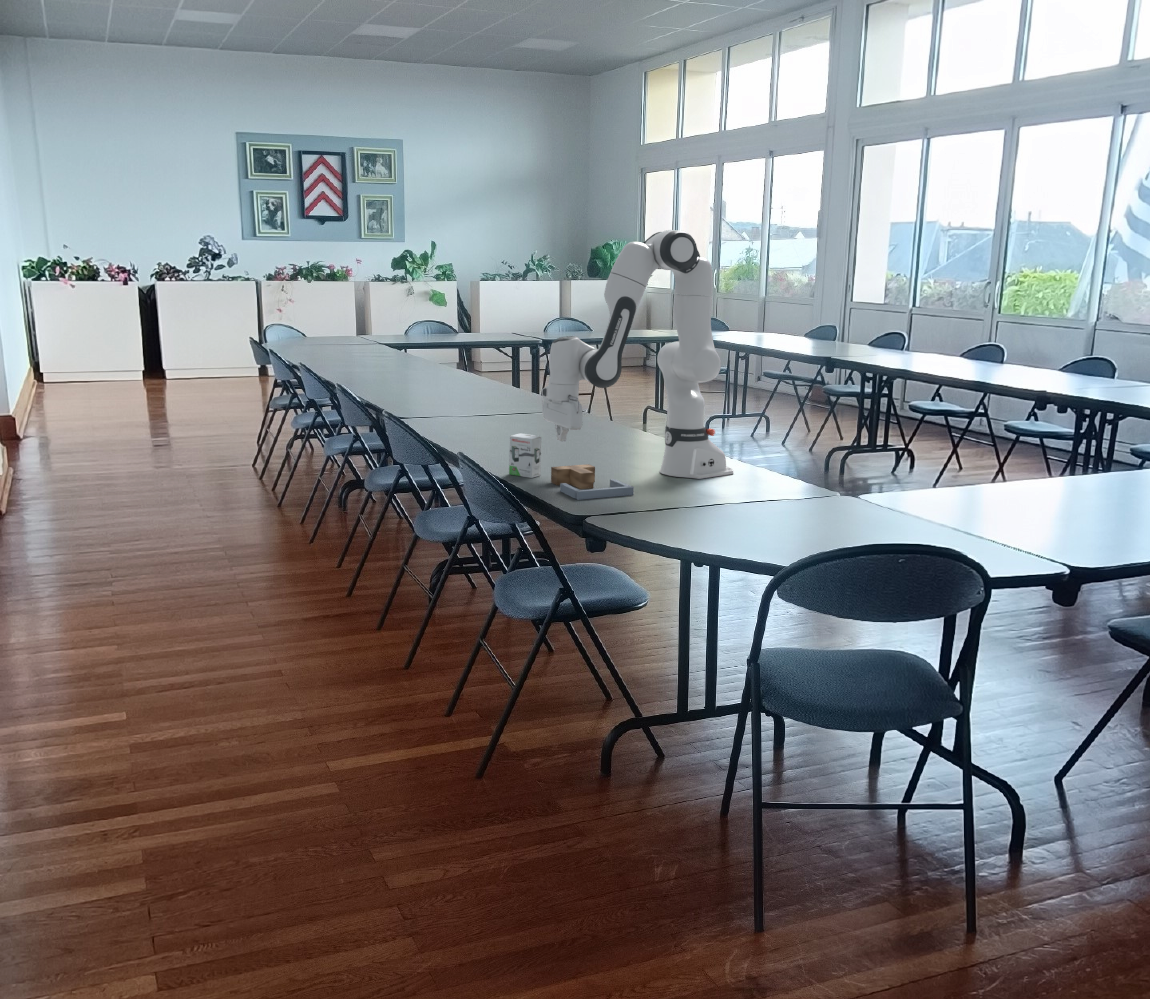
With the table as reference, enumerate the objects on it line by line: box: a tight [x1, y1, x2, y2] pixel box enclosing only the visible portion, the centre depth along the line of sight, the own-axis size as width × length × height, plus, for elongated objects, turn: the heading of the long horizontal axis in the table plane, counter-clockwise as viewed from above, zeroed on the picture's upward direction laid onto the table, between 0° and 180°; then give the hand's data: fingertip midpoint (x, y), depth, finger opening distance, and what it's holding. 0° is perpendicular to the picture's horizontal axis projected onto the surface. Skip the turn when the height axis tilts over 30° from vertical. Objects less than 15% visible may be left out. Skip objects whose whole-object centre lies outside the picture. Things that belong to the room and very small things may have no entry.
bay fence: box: [559, 478, 635, 501], centre depth 289 cm, size 17×11×2 cm, turn 116°
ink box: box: [508, 432, 542, 479], centre depth 310 cm, size 9×5×12 cm, turn 57°
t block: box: [550, 463, 596, 490], centre depth 299 cm, size 12×11×4 cm
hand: (561, 440), depth 306 cm, fingers closed
